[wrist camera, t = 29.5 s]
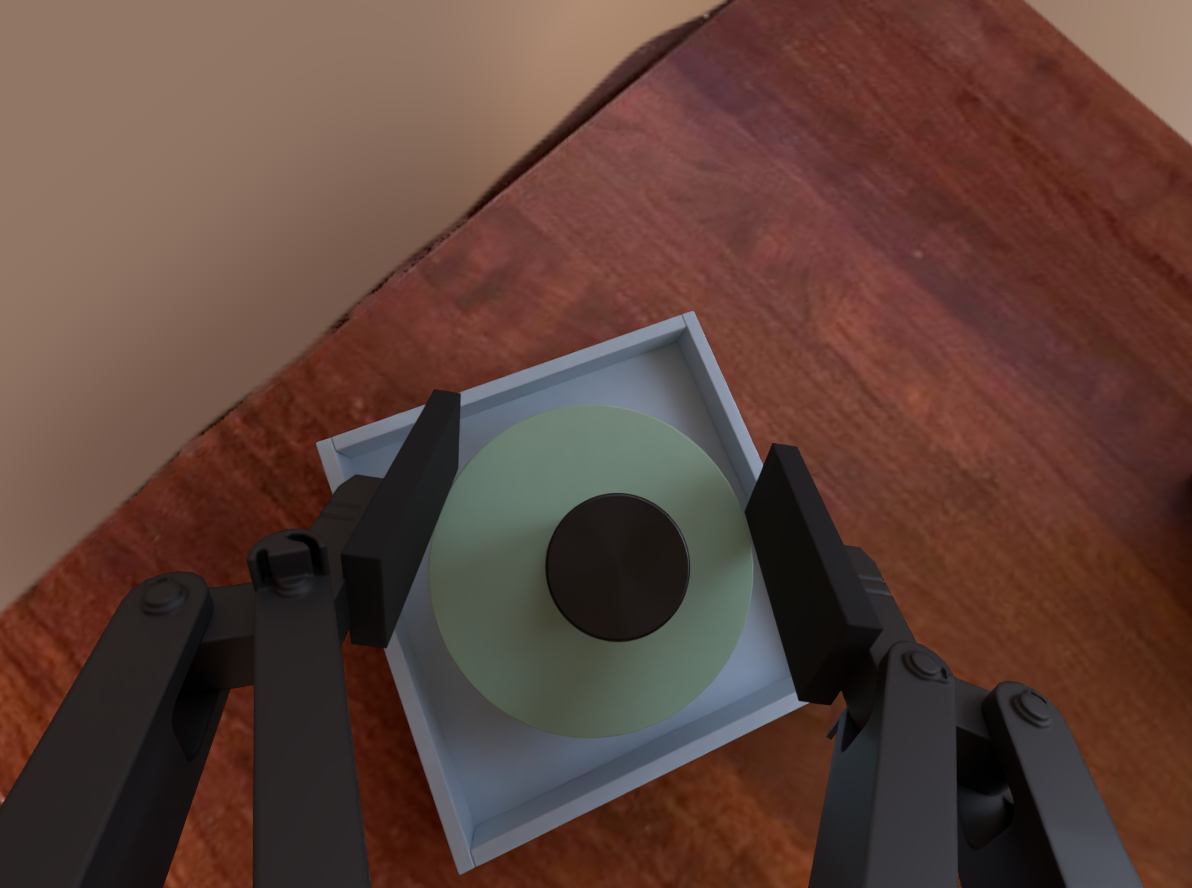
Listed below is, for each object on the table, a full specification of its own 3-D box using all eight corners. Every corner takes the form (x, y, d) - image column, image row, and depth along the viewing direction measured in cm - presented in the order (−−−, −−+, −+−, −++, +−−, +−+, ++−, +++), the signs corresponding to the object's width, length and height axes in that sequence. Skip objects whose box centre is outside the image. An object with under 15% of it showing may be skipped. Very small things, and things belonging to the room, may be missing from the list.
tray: (467, 841, 18) (458, 876, 16) (337, 453, 20) (314, 442, 18) (828, 666, 20) (860, 678, 18) (680, 331, 22) (693, 309, 20)
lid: (500, 783, 16) (471, 934, 10) (392, 476, 18) (305, 430, 11) (790, 646, 18) (930, 699, 11) (669, 372, 19) (732, 281, 13)
